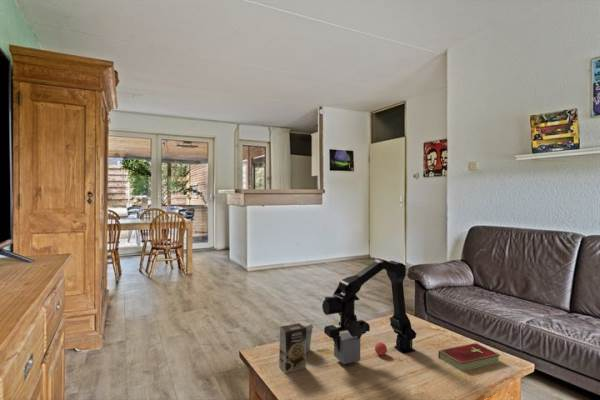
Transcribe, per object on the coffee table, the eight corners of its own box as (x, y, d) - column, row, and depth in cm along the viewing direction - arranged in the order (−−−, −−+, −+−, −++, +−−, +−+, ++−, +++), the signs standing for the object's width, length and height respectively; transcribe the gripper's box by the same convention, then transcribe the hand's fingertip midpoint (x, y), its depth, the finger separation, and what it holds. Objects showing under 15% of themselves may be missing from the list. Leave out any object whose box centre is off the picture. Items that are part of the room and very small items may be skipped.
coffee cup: (310, 355, 142) (311, 327, 142) (291, 353, 144) (291, 325, 143) (314, 346, 150) (314, 320, 150) (295, 344, 152) (295, 318, 152)
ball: (381, 351, 146) (381, 339, 146) (389, 356, 142) (389, 344, 142) (372, 353, 144) (372, 341, 144) (379, 358, 140) (379, 346, 140)
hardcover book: (438, 359, 141) (438, 349, 141) (475, 351, 148) (475, 341, 148) (461, 373, 130) (461, 362, 130) (499, 364, 137) (500, 354, 137)
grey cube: (349, 352, 141) (350, 331, 141) (360, 360, 134) (360, 338, 134) (333, 355, 138) (334, 334, 138) (343, 364, 131) (344, 342, 131)
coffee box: (286, 374, 127) (286, 332, 127) (278, 366, 132) (279, 326, 132) (306, 368, 131) (307, 327, 131) (298, 361, 137) (299, 322, 137)
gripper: (337, 321, 125) (337, 362, 125) (378, 314, 132) (377, 353, 133) (323, 311, 135) (323, 350, 135) (362, 306, 143) (361, 342, 143)
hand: (347, 349), depth 136 cm, fingers closed on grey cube, 8 cm apart
